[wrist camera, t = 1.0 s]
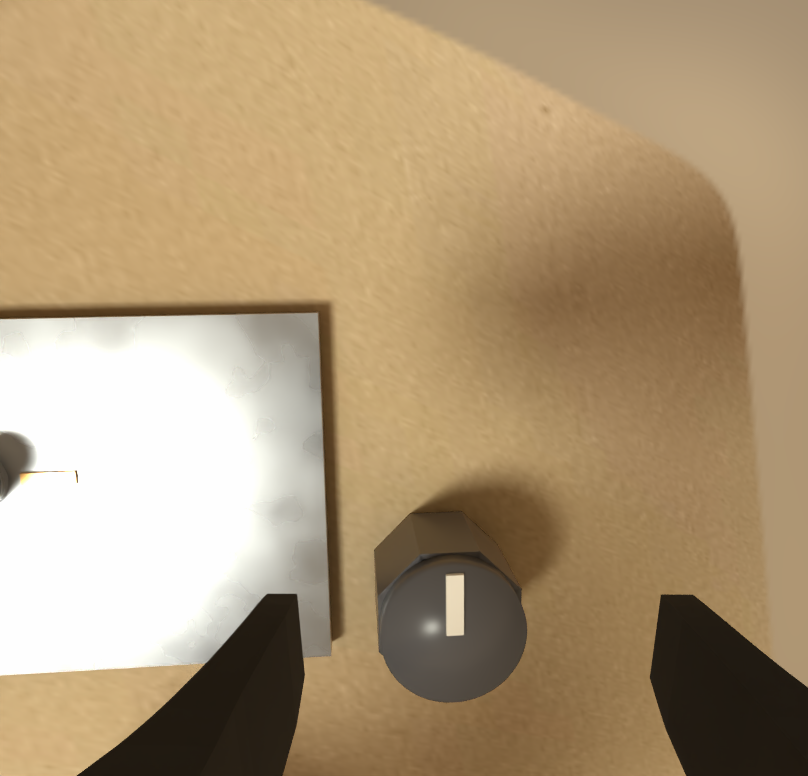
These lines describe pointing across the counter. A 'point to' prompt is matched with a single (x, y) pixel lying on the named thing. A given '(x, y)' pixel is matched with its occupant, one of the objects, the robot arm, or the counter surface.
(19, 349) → the panel
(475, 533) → the knob
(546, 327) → the counter surface
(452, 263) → the counter surface
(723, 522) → the counter surface
